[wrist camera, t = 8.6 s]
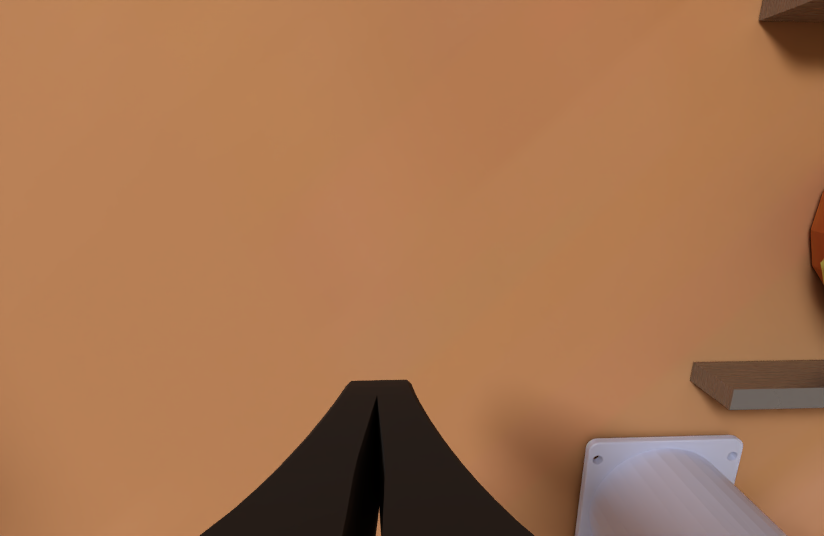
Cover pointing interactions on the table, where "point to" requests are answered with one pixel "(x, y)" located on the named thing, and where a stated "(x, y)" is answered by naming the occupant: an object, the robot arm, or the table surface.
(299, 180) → the table surface
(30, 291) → the table surface
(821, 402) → the rack
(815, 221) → the cheeseburger
